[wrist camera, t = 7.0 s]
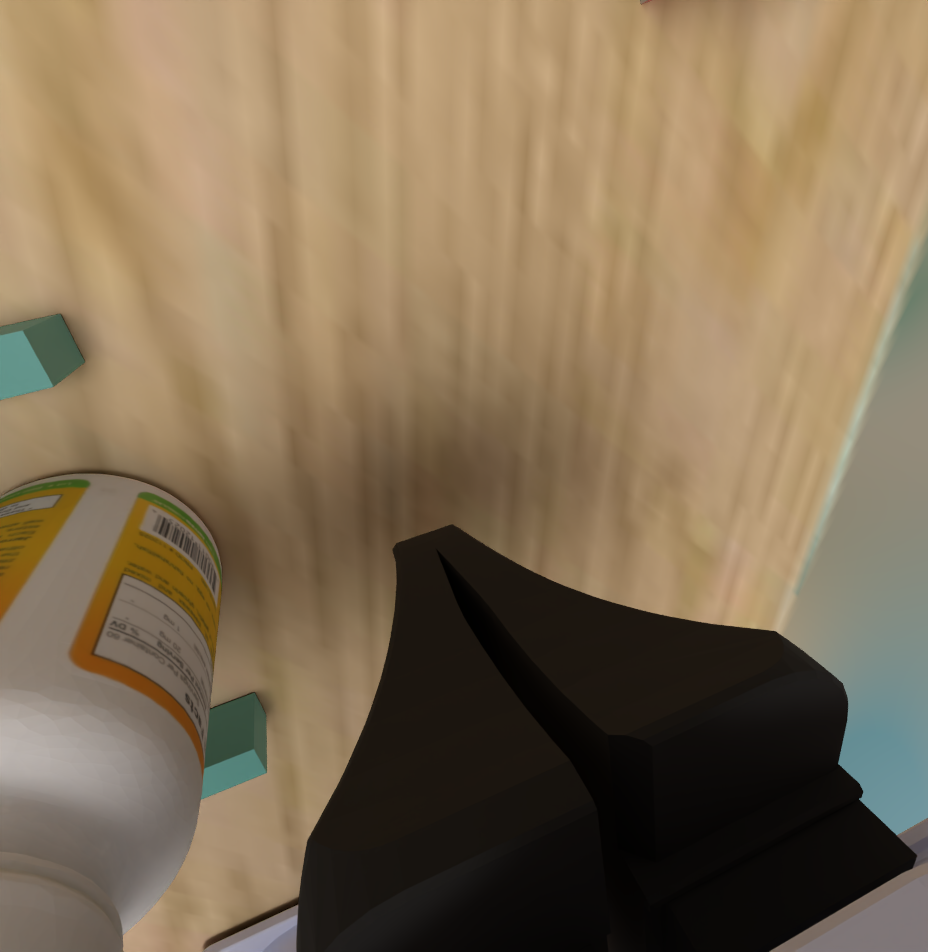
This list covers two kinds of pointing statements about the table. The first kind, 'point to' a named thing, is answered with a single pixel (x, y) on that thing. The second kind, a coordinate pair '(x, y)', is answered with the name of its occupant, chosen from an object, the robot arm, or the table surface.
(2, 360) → the dock
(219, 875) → the table surface
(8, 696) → the supplement bottle
